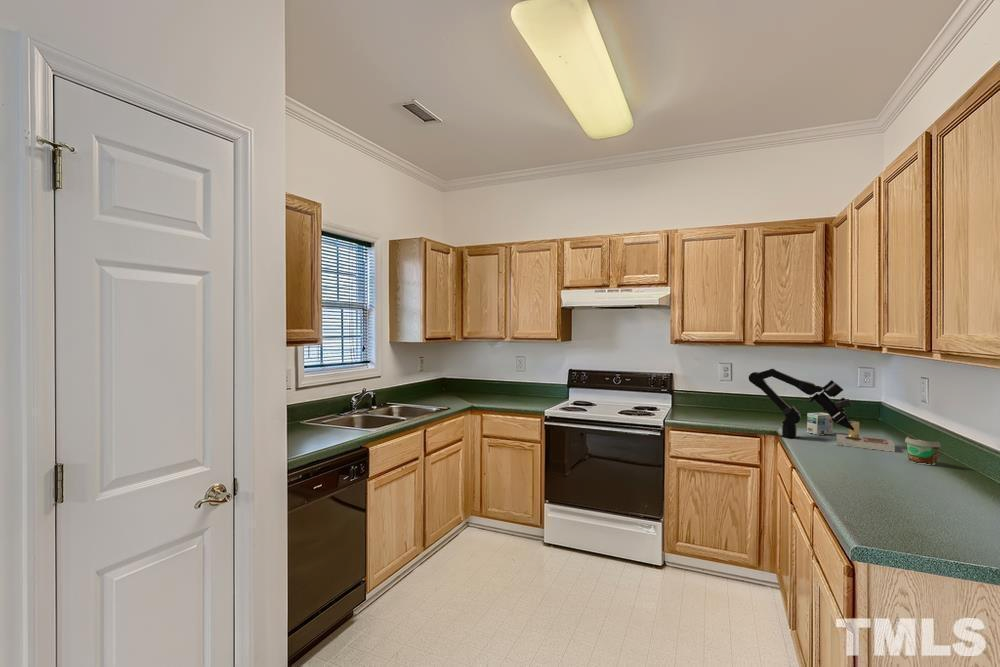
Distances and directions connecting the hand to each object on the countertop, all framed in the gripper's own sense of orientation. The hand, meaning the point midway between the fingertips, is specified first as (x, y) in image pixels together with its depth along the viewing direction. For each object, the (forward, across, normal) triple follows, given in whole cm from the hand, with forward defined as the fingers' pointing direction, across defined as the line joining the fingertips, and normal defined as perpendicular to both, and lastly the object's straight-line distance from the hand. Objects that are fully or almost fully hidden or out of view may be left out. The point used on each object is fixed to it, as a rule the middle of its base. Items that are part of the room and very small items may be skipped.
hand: (853, 428), depth 242 cm
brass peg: (+6, 0, +6) cm, 8 cm away
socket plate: (+9, 0, +3) cm, 9 cm away
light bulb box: (-4, +20, +16) cm, 26 cm away
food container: (+21, -24, -9) cm, 34 cm away
